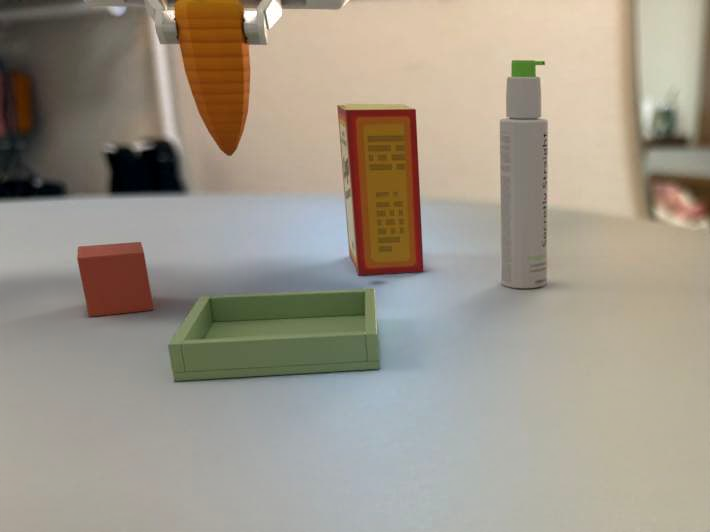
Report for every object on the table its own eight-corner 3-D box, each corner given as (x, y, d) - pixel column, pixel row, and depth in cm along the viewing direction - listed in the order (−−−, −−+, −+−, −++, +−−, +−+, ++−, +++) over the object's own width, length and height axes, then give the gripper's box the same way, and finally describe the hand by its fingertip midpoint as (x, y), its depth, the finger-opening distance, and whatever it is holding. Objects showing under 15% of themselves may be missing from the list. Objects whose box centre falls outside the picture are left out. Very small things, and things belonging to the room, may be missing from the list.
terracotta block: (88, 317, 71) (76, 257, 69) (89, 302, 75) (77, 246, 73) (153, 310, 73) (143, 252, 71) (150, 296, 77) (141, 241, 75)
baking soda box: (349, 255, 93) (336, 101, 87) (408, 252, 95) (400, 100, 89) (358, 275, 85) (345, 106, 79) (423, 271, 87) (415, 105, 81)
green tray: (173, 381, 57) (167, 344, 56) (205, 327, 68) (200, 295, 67) (379, 369, 59) (377, 333, 58) (376, 318, 71) (374, 288, 70)
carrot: (234, 160, 63) (204, -70, 57) (181, 157, 65) (146, -66, 59) (275, 153, 68) (251, -61, 62) (224, 151, 69) (196, -58, 63)
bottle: (525, 291, 79) (524, 60, 72) (492, 283, 82) (488, 60, 75) (556, 283, 82) (558, 60, 75) (523, 275, 85) (522, 60, 78)
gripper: (58, -139, 63) (42, 0, 58) (341, -127, 66) (350, 5, 61) (87, -63, 69) (75, 70, 63) (346, -56, 72) (355, 70, 67)
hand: (213, 38), depth 62 cm, fingers closed on carrot, 5 cm apart
